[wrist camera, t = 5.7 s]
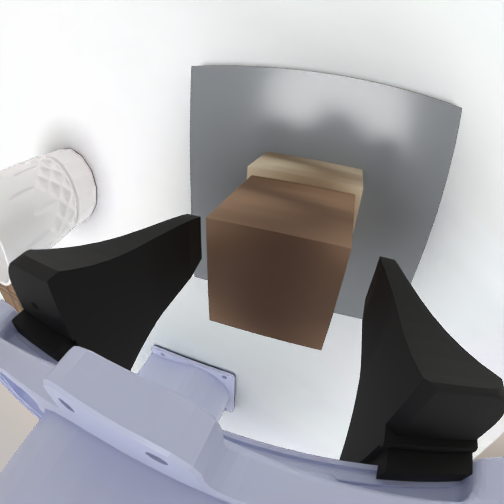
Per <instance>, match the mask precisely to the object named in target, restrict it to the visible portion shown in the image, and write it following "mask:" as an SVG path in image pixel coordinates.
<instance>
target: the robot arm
mask: <svg viewBox="0 0 504 504" xmlns="http://www.w3.org/2000/svg"><path fill="white" fill-rule="evenodd" d="M201 259H202V247H201V217H200V216H195V215H190V214H186V215H181V216H178V217H175V218H172V219H169V220H166V221H164V222H161V223H158V224H155V225H153V226H150V227H147V228H144V229H142V230H139V231H136V232H133V233H130V234H127V235H124V236H121V237H117V238H114V239H110V240H106V241H102V242H97V243H92V244H87V245H81V246H75V247H68V248H57V249H29V250H27V251H25V252H24V253H22V254H21V255H20V256H18V257H17V258H16V259H14V260H13V261H12V262H11V263H10V264H9V266H8V274H9V278H10V281H11V284H12V286H13V288H14V291H15V293H16V295H17V297H18V299H19V301H20V304H21V306H22V308H23V310H22V311H21V312H20V313H18V312H17V311H16V310H15V309H14V308H13V307H12V306H11V305H10V304H8V303H7V302H6V301H4V300H2V299H1V300H0V382H1V383H2V384H3V385H4V386H5V387H6V388H7V389H8V390H9V391H10V392H11V393H12V394H13V395H14V396H15V397H16V398H17V399H18V400H19V401H20V402H21V403H22V404H23V405H24V406H25V407H26V408H27V409H28V410H29V411H30V412H31V413H33V414H34V415H35V416H36V417H37V418H38V419H39V422H38V423H37V424H36V426H35V427H34V428H33V430H32V431H31V432H30V434H29V435H28V437H27V438H26V439H25V440H24V442H23V443H22V444H21V446H20V447H19V448H18V450H17V451H16V453H15V454H14V455H13V457H12V458H11V460H10V461H9V462H8V464H7V465H6V467H5V468H4V469H3V471H2V472H1V474H0V504H504V457H495V458H481V459H478V460H474V461H473V460H472V452H475V451H476V450H477V448H478V444H477V439H478V438H479V437H480V436H482V435H483V434H484V433H485V432H486V431H488V430H489V429H490V428H491V427H492V426H494V425H495V424H496V423H497V422H498V421H499V420H500V419H501V417H502V416H503V414H504V386H503V381H502V379H501V378H500V377H499V376H497V375H496V374H494V373H493V372H492V371H490V370H489V369H487V368H486V367H485V366H483V365H482V364H481V363H479V362H478V361H477V360H476V359H475V358H474V357H472V356H471V355H470V354H469V353H468V352H467V351H466V350H464V349H463V348H462V347H461V346H460V345H459V344H458V343H457V342H456V341H455V340H454V339H453V338H452V337H451V336H450V335H449V334H448V333H447V332H446V331H445V329H444V328H443V327H442V326H441V325H440V324H439V322H438V321H437V320H436V319H435V318H434V316H433V315H432V314H431V313H430V311H429V310H428V309H427V307H426V306H425V305H424V303H423V302H422V300H421V299H420V298H419V296H418V295H417V293H416V292H415V290H414V289H413V287H412V286H411V284H410V282H409V281H408V279H407V278H406V276H405V274H404V273H403V271H402V270H401V268H400V267H399V265H398V263H397V262H396V261H395V260H394V259H390V258H385V257H381V256H380V257H379V260H378V263H377V266H376V269H375V272H374V275H373V278H372V281H371V284H370V287H369V290H368V292H367V295H366V298H365V305H364V312H363V319H362V353H361V371H360V379H359V385H358V390H357V395H356V400H355V405H354V409H353V414H352V418H351V422H350V426H349V430H348V433H347V437H346V441H345V444H344V447H343V450H342V454H341V457H340V460H336V459H331V458H325V457H320V456H315V455H311V454H306V453H302V452H297V451H293V450H289V449H285V448H281V447H277V446H274V445H270V444H266V443H263V442H259V441H256V440H253V439H249V438H246V437H243V436H240V435H237V434H234V433H231V432H228V431H225V430H222V429H221V427H220V425H219V423H218V421H219V419H220V417H221V415H222V413H223V411H224V410H226V411H229V412H233V410H234V391H235V376H234V375H233V374H231V373H228V372H225V371H222V370H219V369H216V368H213V367H210V366H207V365H204V364H202V363H199V362H196V361H193V360H190V359H188V358H185V357H182V356H180V355H177V354H175V353H172V352H169V351H167V350H164V349H162V348H159V347H157V346H153V347H152V348H151V350H152V354H151V355H150V357H149V358H148V360H147V361H146V362H145V364H144V365H143V367H142V368H141V369H140V371H139V372H138V373H137V374H135V373H133V372H131V371H130V370H131V368H132V366H133V364H134V362H135V360H136V358H137V356H138V354H139V352H140V350H141V348H142V346H143V345H144V343H145V341H146V339H147V337H148V335H149V334H150V332H151V330H152V329H153V327H154V325H155V324H156V322H157V320H158V319H159V318H160V316H161V315H162V313H163V312H164V311H165V309H166V308H167V307H168V306H169V304H170V303H171V302H172V301H173V299H174V298H175V297H176V296H177V294H178V293H179V292H180V291H181V289H182V288H183V287H184V285H185V284H186V283H187V282H188V280H189V279H190V278H191V276H192V275H193V273H194V271H195V270H196V268H197V266H198V264H199V263H200V261H201Z"/></svg>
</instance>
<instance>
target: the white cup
mask: <svg viewBox="0 0 504 504" xmlns="http://www.w3.org/2000/svg"><path fill="white" fill-rule="evenodd" d="M95 205H96V186H95V182H94V179H93V175H92V172H91V170H90V168H89V167H88V165H87V164H86V162H85V161H84V159H83V157H82V156H80V155H79V154H77V153H76V152H75V151H73V150H72V149H59V150H56V151H53V152H50V153H48V154H45V155H43V156H38V157H34V158H31V159H29V160H27V161H24V162H21V163H18V164H15V165H13V166H10V167H8V168H6V169H3V170H1V171H0V283H1V284H2V285H5V286H9V285H10V284H11V281H10V278H9V274H8V266H9V264H10V263H11V262H12V261H13V260H14V259H16V258H17V257H18V256H20V255H21V254H22V253H24V252H25V251H27V250H29V249H51V248H52V247H53V246H54V245H56V244H57V243H58V242H59V241H60V240H62V239H63V238H64V237H65V236H66V235H67V234H68V233H69V232H70V231H71V230H72V229H73V228H75V227H76V226H77V225H78V224H80V223H81V222H83V221H84V220H85V219H87V218H88V217H89V216H91V214H92V212H93V210H94V207H95Z"/></svg>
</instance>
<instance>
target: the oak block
mask: <svg viewBox="0 0 504 504" xmlns="http://www.w3.org/2000/svg"><path fill="white" fill-rule="evenodd" d="M251 175H254V176H260V177H266V178H272V179H278V180H284V181H289V182H295V183H300V184H306V185H311V186H316V187H321V188H326V189H331V190H336V191H340V192H345V193H350V194H354V195H355V207H354V223H353V231H354V227H355V223H356V219H357V215H358V210H359V206H360V201H361V197H362V192H363V170H362V169H357V168H353V167H348V166H344V165H339V164H334V163H329V162H324V161H319V160H313V159H308V158H302V157H297V156H291V155H285V154H278V153H272V152H266V153H264V154H263V155H262V156H260V157H259V158H258V159H257V160H255V161H254V162H253V163H251V164H250V165H249V166H248V167H247V179H248V178H249V177H250V176H251Z"/></svg>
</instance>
